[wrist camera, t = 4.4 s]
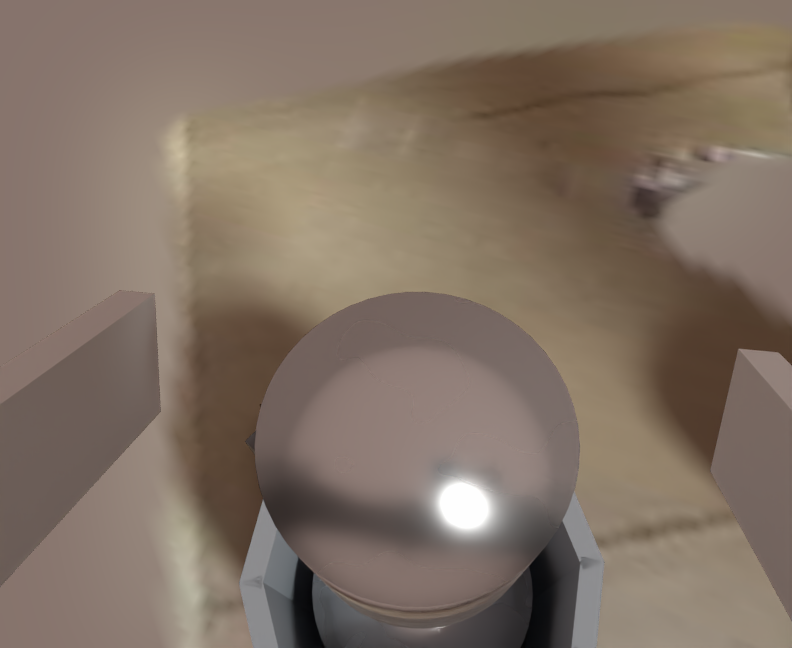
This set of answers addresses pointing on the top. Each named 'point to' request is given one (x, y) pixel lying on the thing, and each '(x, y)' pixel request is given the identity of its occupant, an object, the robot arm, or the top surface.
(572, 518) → the grey cup
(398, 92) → the top surface
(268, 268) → the top surface
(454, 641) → the plunger
